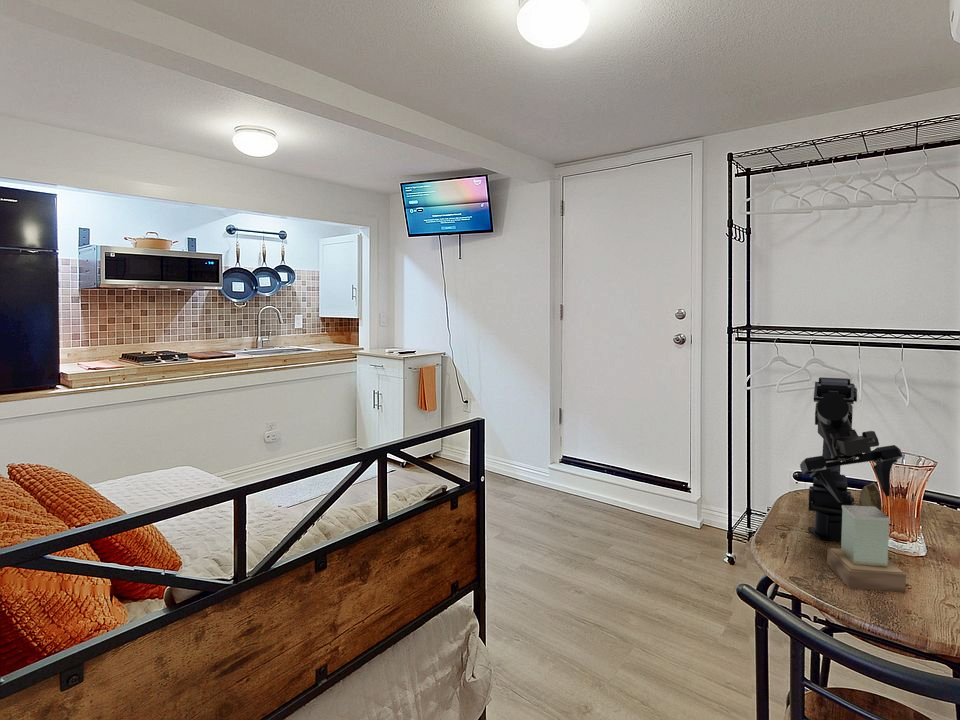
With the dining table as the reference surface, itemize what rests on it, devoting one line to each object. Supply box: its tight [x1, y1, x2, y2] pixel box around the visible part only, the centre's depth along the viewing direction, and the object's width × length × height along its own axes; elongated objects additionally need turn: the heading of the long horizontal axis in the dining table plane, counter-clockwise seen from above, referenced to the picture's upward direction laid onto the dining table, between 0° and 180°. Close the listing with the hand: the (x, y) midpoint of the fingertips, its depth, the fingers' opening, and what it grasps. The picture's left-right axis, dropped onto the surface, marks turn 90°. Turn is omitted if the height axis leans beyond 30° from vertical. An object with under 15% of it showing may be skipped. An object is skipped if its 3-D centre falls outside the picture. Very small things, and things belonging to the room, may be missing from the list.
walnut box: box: [826, 547, 907, 593], centre depth 111 cm, size 10×10×4 cm
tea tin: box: [840, 505, 890, 567], centre depth 110 cm, size 6×6×10 cm
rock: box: [858, 482, 881, 511], centre depth 140 cm, size 11×9×10 cm
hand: (864, 499), depth 115 cm, fingers open, 9 cm apart
